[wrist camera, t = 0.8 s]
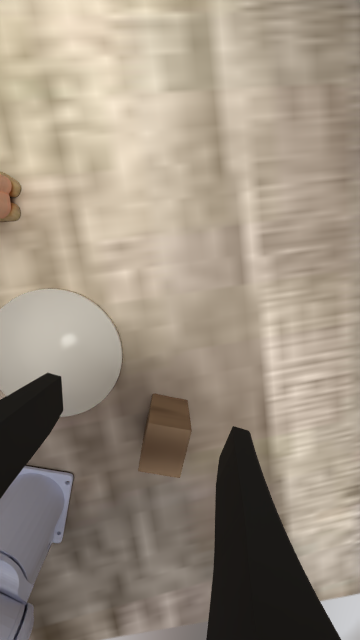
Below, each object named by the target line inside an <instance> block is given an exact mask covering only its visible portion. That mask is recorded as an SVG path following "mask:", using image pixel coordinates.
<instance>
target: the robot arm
mask: <svg viewBox="0 0 360 640" xmlns="http://www.w3.org/2000/svg"><path fill="white" fill-rule="evenodd" d="M62 412H63V395H62V379H61V376H58V375H55V374H51V373H46V374H44V375H42V376H41V377H39V378H37V379H35V380H34V381H32V382H30V383H29V384H27V385H25V386H23V387H22V388H20V389H18V390H17V391H15V392H13V393H11V394H10V395H8V396H6V397H4V398H3V399H1V400H0V640H29V637H30V634H31V631H32V628H33V623H34V614H33V613H34V606H33V605H32V604H30V603H27V600H28V598H29V596H30V594H31V591H32V589H33V587H34V586H33V585H34V583H35V581H36V578H37V576H38V574H39V571H40V569H41V567H42V565H43V562H44V560H45V558H46V555H47V553H48V551H49V549H50V546H51V544H52V542H53V543H60V542H61V541H62V539H63V534H64V528H65V523H66V517H67V511H68V506H69V500H70V494H71V489H72V483H73V475H72V474H71V473H66V472H60V471H54V470H48V469H41V468H35V467H29V466H25V465H26V464H27V463H28V461H29V460H30V459H31V457H32V456H33V455H34V454H35V452H36V451H37V450H38V448H39V447H40V446H41V444H42V443H43V442H44V440H45V439H46V438H47V436H48V435H49V434H50V432H51V430H52V429H53V427H54V426H55V424H56V422H57V421H58V419H59V417H60V415H61V414H62ZM67 481H69V482H67ZM59 531H60V532H59ZM207 640H341V639H340V637H339V635H338V633H337V631H336V630H335V628H334V626H333V625H332V622H331V621H330V619H329V617H328V615H327V614H326V612H325V610H324V608H323V606H322V604H321V603H320V601H319V599H318V597H317V595H316V593H315V591H314V589H313V588H312V586H311V584H310V582H309V580H308V578H307V576H306V574H305V572H304V570H303V568H302V566H301V564H300V562H299V560H298V558H297V555H296V553H295V551H294V549H293V547H292V545H291V543H290V540H289V538H288V536H287V534H286V532H285V529H284V527H283V525H282V522H281V520H280V517H279V515H278V513H277V510H276V508H275V505H274V503H273V500H272V498H271V495H270V492H269V490H268V487H267V484H266V482H265V479H264V476H263V473H262V470H261V467H260V464H259V461H258V458H257V455H256V452H255V449H254V445H253V442H252V438H251V434H250V432H249V431H248V430H244V429H241V428H237V427H234V426H233V427H232V430H231V432H230V434H229V437H228V439H227V441H226V444H225V446H224V448H223V450H222V453H221V455H220V458H219V465H218V473H217V482H216V508H215V553H214V571H213V582H212V592H211V602H210V612H209V621H208V630H207Z"/></svg>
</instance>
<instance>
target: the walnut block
mask: <svg viewBox="0 0 360 640" xmlns="http://www.w3.org/2000/svg"><path fill="white" fill-rule="evenodd" d="M191 431H192V430H191V423H190V416H189V409H188V401H187V400H184V399H179V398H174V397H168V396H163V395H158V394H153V395H152V400H151V404H150V409H149V414H148V418H147V423H146V427H145V432H144V438H143V444H142V450H141V456H140V462H139V468H138V471H141V472H147V473H153V474H158V475H164V476H170V477H176V478H180V475H181V471H182V467H183V463H184V459H185V455H186V451H187V447H188V443H189V439H190V435H191Z"/></svg>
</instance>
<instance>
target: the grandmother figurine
mask: <svg viewBox="0 0 360 640" xmlns="http://www.w3.org/2000/svg"><path fill="white" fill-rule="evenodd" d="M20 190H21V186H20V184H19V183H18V182H17V181H16V180H14V179H13V178H11V177H10V176H8V175H7V174H5V173H3V172H0V221H16V220H18V219H19V217H20V208H19V207H18V206H17V205H16V204H14V203H11V202H10V197H17V196H18V195H19V194H20Z"/></svg>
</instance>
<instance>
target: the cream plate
mask: <svg viewBox="0 0 360 640" xmlns="http://www.w3.org/2000/svg"><path fill="white" fill-rule="evenodd" d="M122 360H123V350H122V343H121V339H120V336H119V333H118V331H117V328H116V326H115V325H114V323H113V321H112V320H111V318H110V317H109V316H108V314H107V313H106V312H105V311H104V310H103V309H102V308H101V307H100V306H99V305H97V304H96V303H95V302H93V301H92V300H90V299H89V298H87V297H85V296H83V295H81V294H78V293H76V292H72V291H69V290H63V289H40V290H34V291H30V292H27V293H24V294H22V295H19V296H18V297H16V298H14V299H12V300H11V301H10V302H8V303H7V304H6V305H4V306H3V308H2V309H1V310H0V390H1V391H2V392H3V393H4V394H5V395H6V396H8V395H10V394H11V393H13V392H15V391H17V390H18V389H20V388H22V387H23V386H25V385H27V384H29V383H30V382H32V381H34V380H35V379H37V378H39V377H41V376H42V375H44V374H46V373H51V374H55V375H58V376H61V379H62V395H63V412H62V414H61V415H60V417H67V416H73V415H77V414H80V413H83V412H85V411H88V410H89V409H91V408H93V407H95V406H96V405H97V404H99V403H100V402H101V401H102V400H103V399H104V398H106V396H107V395H108V394H109V393H110V391H111V390H112V388H113V387H114V385H115V383H116V381H117V379H118V377H119V374H120V371H121V367H122Z"/></svg>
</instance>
